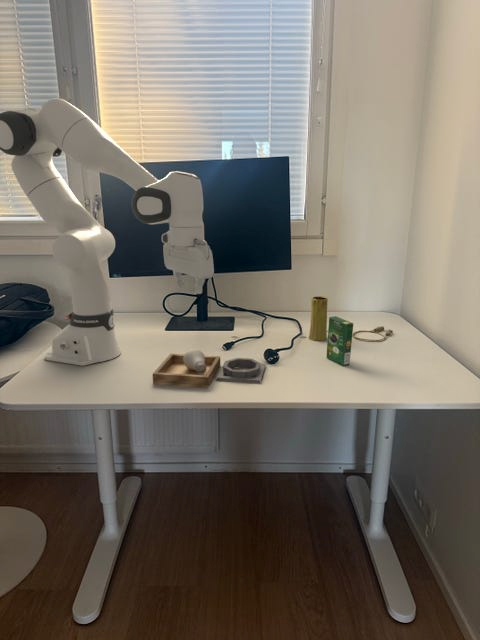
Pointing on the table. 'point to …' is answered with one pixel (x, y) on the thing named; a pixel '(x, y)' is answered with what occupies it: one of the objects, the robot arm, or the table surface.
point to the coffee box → (339, 340)
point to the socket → (241, 371)
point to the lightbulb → (195, 360)
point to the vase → (318, 319)
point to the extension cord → (375, 332)
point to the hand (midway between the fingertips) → (188, 290)
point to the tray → (185, 372)
